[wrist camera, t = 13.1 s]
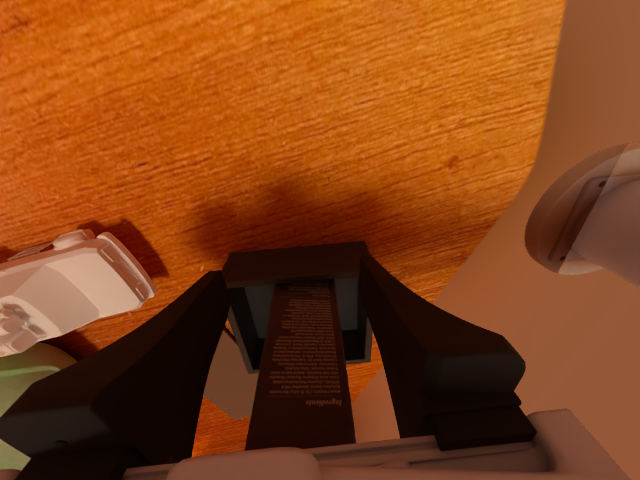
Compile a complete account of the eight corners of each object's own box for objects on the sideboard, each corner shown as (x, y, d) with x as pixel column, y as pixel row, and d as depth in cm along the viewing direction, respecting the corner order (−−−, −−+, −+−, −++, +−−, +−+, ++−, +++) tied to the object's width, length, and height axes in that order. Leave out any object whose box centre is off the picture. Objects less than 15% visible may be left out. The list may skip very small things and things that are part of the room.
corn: (47, 370, 15) (155, 478, 26) (59, 299, 21) (145, 411, 31) (-203, 480, 11) (49, 557, 21) (-105, 353, 16) (58, 464, 27)
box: (273, 263, 18) (233, 489, 7) (333, 265, 18) (375, 481, 8) (274, 320, 21) (246, 540, 10) (326, 321, 21) (348, 532, 11)
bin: (364, 240, 18) (377, 268, 15) (361, 327, 23) (370, 362, 20) (229, 252, 18) (215, 283, 15) (255, 338, 22) (248, 374, 19)
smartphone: (208, 313, 20) (293, 405, 27) (210, 308, 20) (293, 400, 28) (133, 341, 21) (234, 422, 28) (137, 336, 22) (236, 417, 29)
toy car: (-31, 256, 17) (-216, 341, 11) (127, 211, 16) (22, 276, 10) (40, 315, 19) (-73, 407, 14) (177, 279, 19) (120, 361, 13)
